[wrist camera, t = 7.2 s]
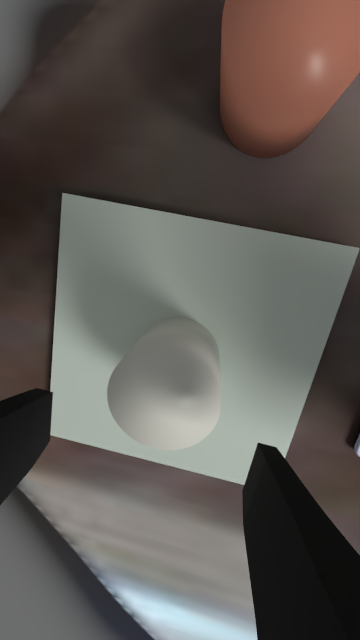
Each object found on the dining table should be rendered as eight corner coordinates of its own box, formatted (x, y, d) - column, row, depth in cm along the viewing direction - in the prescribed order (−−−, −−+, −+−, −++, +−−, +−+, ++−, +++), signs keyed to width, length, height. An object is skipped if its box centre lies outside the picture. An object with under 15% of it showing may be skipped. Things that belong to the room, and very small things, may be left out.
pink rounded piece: (339, 46, 13) (415, -79, 8) (306, 165, 14) (353, 121, 9) (232, 32, 13) (241, -96, 8) (210, 149, 14) (207, 98, 9)
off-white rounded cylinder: (234, 340, 16) (243, 380, 11) (197, 406, 17) (189, 467, 12) (157, 302, 16) (132, 326, 11) (126, 371, 17) (91, 419, 12)
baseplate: (352, 248, 15) (359, 248, 14) (270, 482, 19) (272, 492, 18) (69, 195, 16) (62, 192, 15) (53, 427, 20) (47, 434, 19)
